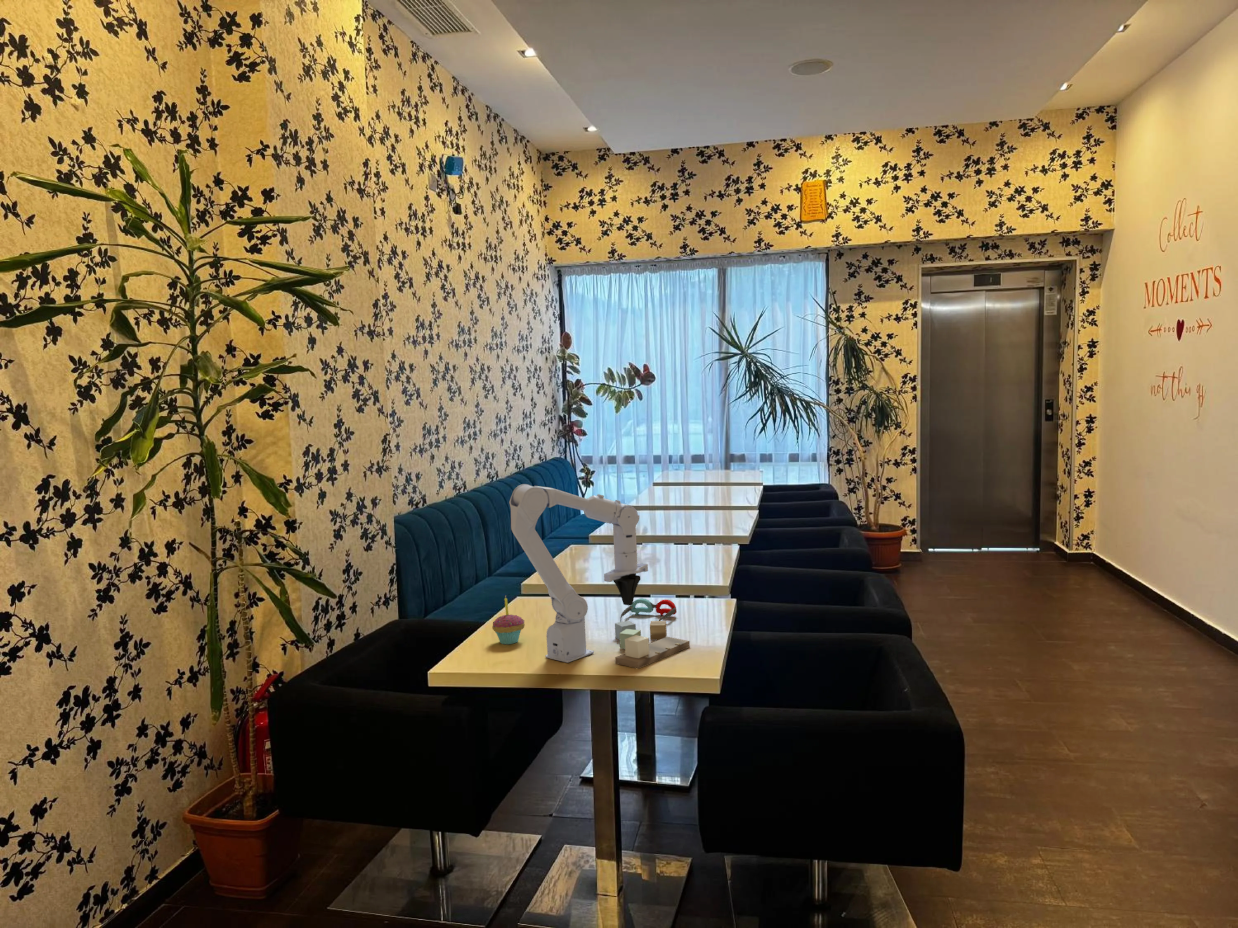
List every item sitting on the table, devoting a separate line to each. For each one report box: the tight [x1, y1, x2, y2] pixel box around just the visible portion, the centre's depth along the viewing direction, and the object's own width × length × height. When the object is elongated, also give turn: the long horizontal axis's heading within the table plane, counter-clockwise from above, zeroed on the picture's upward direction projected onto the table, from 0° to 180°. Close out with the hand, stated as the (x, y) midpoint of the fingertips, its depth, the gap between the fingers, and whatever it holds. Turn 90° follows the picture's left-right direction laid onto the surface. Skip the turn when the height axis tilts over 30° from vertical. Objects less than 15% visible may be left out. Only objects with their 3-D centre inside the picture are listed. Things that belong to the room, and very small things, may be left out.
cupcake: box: [491, 595, 526, 645], centre depth 222 cm, size 9×8×12 cm
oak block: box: [649, 620, 668, 641], centre depth 220 cm, size 4×4×4 cm
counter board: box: [614, 636, 691, 669], centre depth 206 cm, size 20×7×2 cm, turn 139°
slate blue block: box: [614, 620, 637, 641], centre depth 221 cm, size 4×4×4 cm
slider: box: [624, 635, 650, 659], centre depth 201 cm, size 4×4×4 cm
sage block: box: [619, 629, 642, 650], centre depth 213 cm, size 4×4×4 cm
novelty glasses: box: [619, 598, 677, 622], centre depth 237 cm, size 14×15×5 cm
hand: (627, 604), depth 214 cm, fingers closed
